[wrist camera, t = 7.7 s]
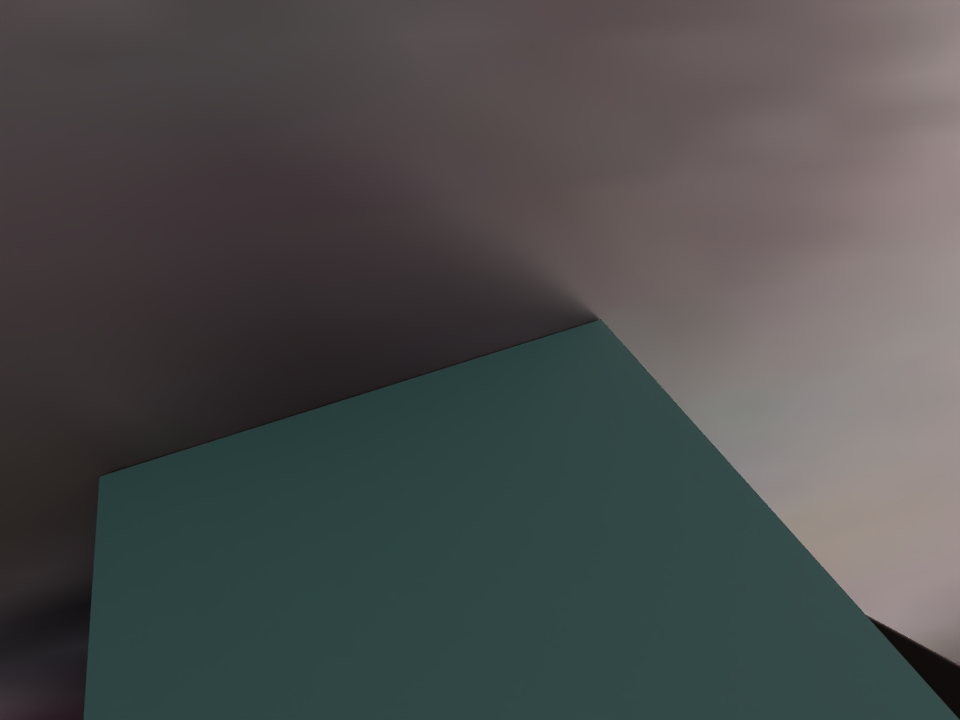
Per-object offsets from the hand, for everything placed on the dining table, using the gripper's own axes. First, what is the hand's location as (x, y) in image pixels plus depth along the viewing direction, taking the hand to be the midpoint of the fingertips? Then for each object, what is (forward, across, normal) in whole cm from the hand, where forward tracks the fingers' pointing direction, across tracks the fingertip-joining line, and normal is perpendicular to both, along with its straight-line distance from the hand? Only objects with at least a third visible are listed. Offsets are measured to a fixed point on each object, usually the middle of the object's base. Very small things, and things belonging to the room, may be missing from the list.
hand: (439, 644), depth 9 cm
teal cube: (+1, 0, 0) cm, 1 cm away
